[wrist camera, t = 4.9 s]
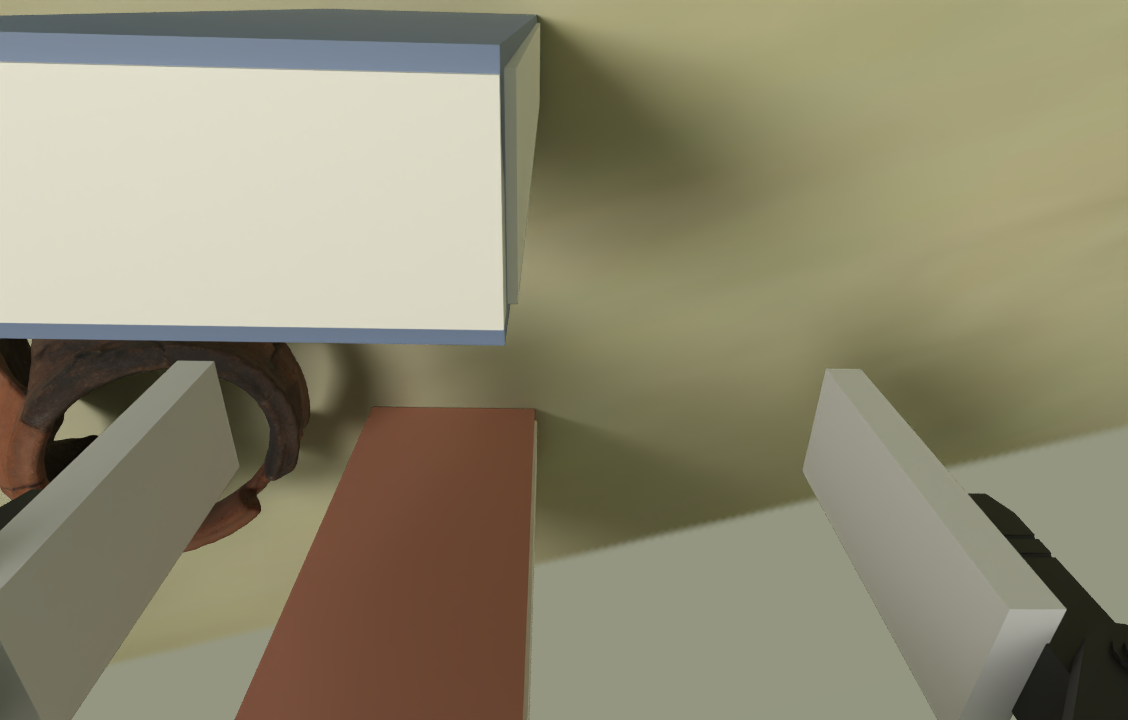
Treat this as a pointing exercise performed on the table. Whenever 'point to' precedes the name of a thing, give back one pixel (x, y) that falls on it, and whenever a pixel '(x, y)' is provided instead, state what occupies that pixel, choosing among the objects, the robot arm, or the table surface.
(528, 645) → the brick red book
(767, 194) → the table surface
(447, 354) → the table surface
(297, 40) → the navy book
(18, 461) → the pottery mug
